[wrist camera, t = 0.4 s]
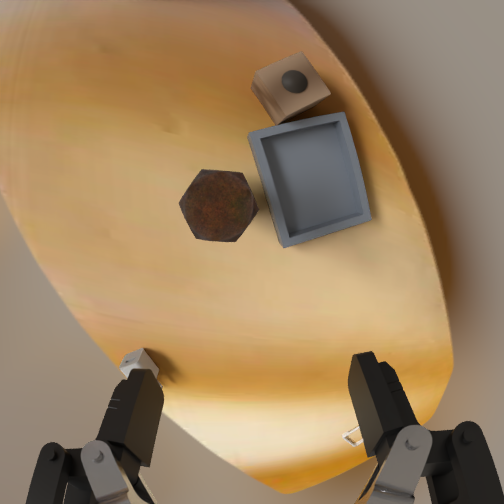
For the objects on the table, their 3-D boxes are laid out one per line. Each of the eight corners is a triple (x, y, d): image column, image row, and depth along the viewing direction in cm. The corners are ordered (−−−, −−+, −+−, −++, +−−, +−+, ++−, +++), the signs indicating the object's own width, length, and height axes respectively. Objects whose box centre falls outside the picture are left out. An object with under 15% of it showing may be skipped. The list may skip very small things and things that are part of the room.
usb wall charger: (144, 346, 38) (137, 362, 35) (168, 378, 40) (165, 394, 37) (125, 354, 39) (117, 369, 35) (149, 384, 41) (145, 400, 37)
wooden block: (250, 88, 31) (255, 71, 25) (290, 69, 30) (301, 50, 24) (276, 126, 32) (286, 116, 26) (315, 105, 32) (331, 93, 26)
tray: (247, 136, 32) (248, 132, 29) (335, 116, 32) (344, 111, 29) (279, 242, 36) (283, 248, 33) (361, 216, 36) (371, 219, 33)
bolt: (248, 176, 34) (263, 174, 19) (243, 216, 35) (255, 244, 20) (200, 172, 33) (180, 167, 18) (197, 212, 34) (175, 238, 20)
